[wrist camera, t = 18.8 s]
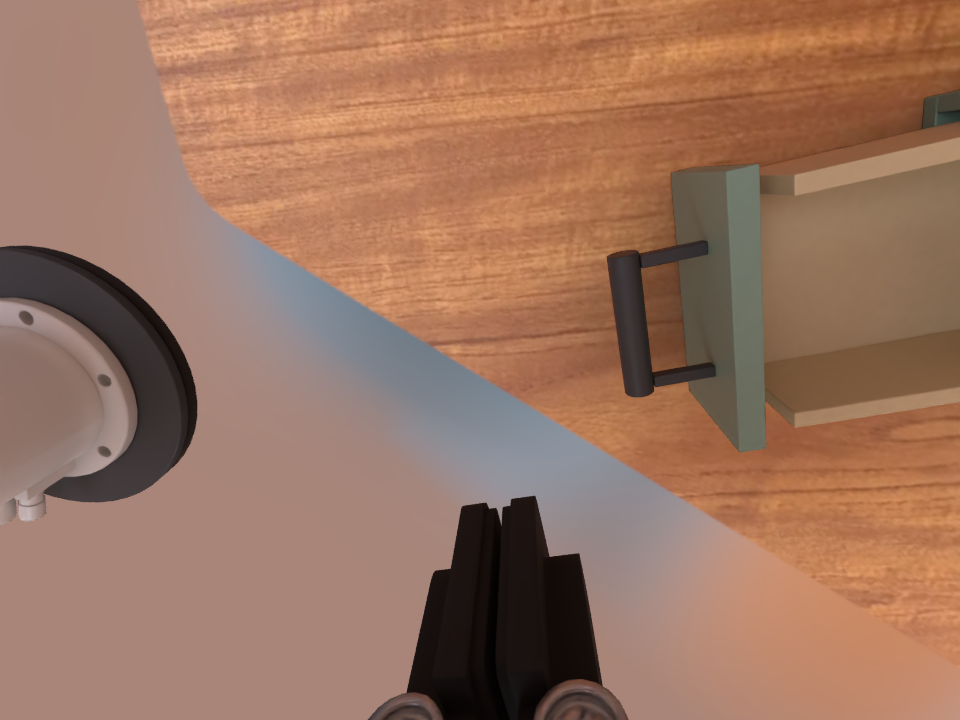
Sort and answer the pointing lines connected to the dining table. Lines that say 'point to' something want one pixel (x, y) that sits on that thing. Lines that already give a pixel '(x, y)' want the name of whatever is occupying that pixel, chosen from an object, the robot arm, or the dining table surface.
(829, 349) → the drawer
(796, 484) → the dining table surface
